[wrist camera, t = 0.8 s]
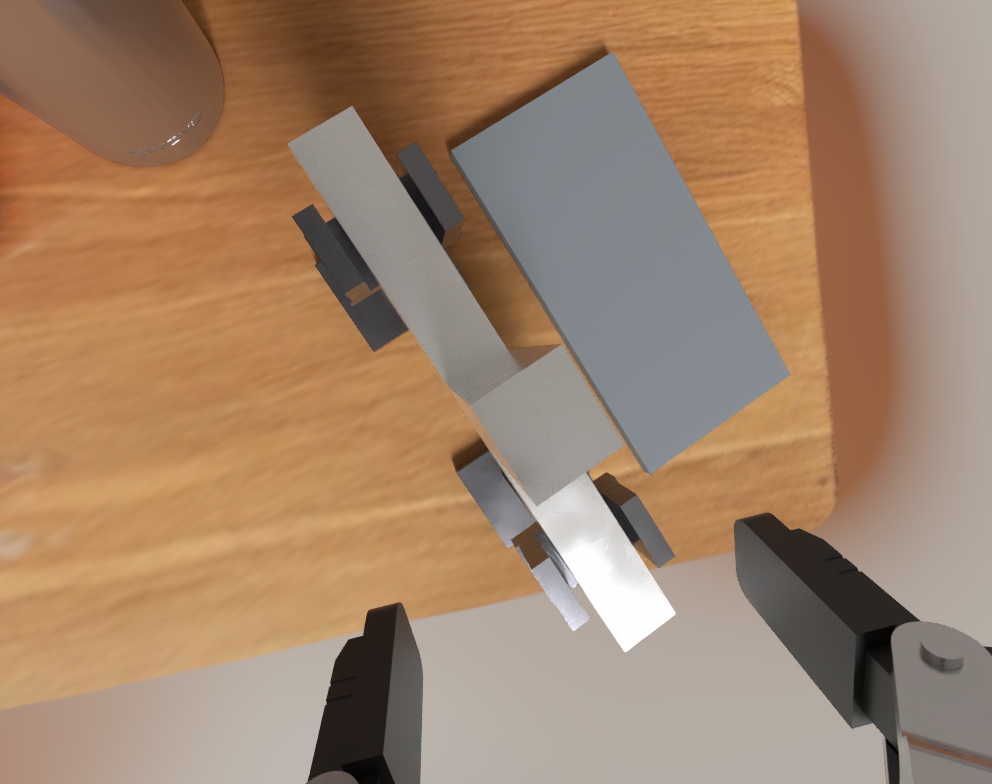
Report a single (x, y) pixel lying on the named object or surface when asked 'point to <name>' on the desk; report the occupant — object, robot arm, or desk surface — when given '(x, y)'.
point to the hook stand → (483, 470)
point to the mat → (622, 261)
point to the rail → (491, 376)
